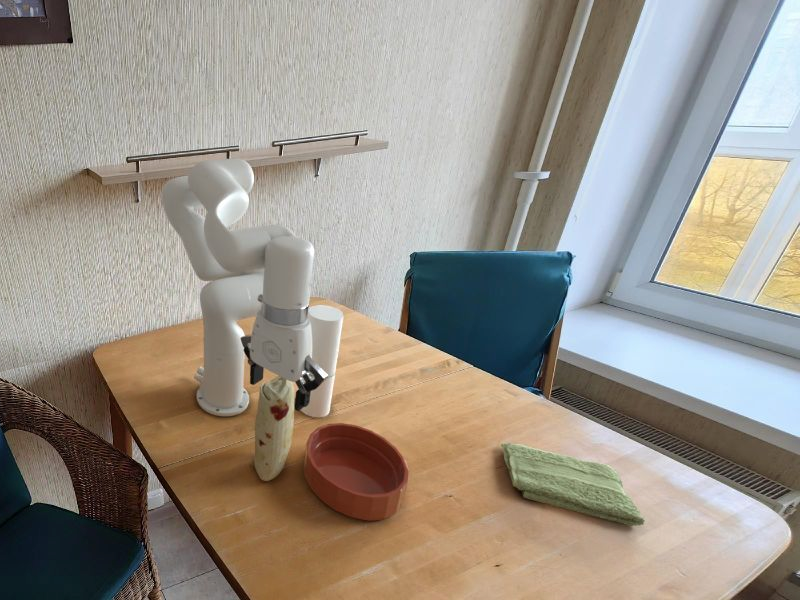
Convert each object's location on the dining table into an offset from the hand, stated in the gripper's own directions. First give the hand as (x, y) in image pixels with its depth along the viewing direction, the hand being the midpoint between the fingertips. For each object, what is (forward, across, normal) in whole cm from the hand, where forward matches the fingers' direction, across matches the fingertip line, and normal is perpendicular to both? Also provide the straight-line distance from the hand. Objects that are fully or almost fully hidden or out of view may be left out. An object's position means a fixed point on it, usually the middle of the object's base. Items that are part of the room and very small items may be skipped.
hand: (277, 393), depth 78 cm
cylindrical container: (+18, -4, +22) cm, 29 cm away
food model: (+18, 0, 0) cm, 18 cm away
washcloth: (+18, +38, +37) cm, 56 cm away
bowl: (+18, +12, +9) cm, 23 cm away
